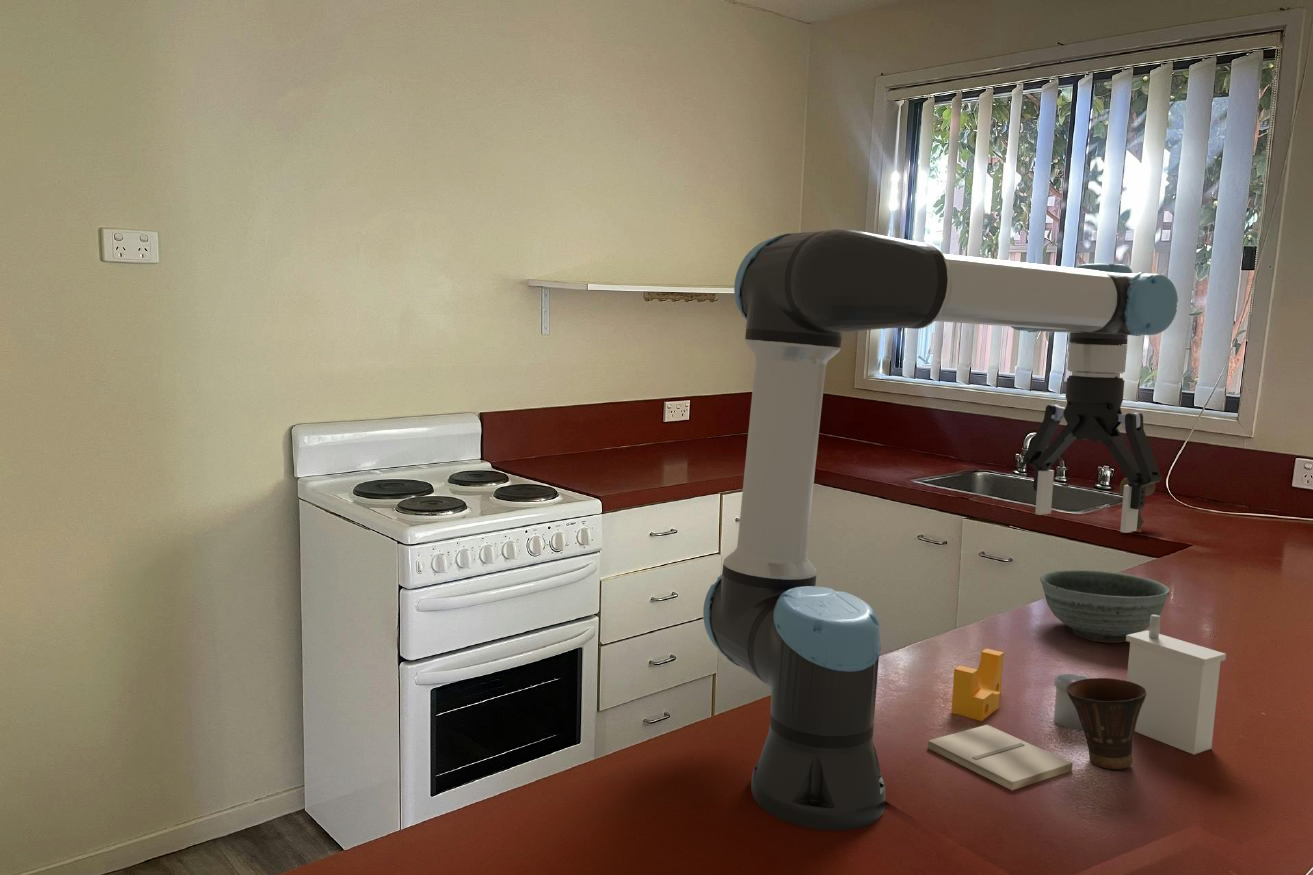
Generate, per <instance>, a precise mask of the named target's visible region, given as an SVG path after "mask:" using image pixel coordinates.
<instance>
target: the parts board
mask: <svg viewBox="0 0 1313 875" xmlns="http://www.w3.org/2000/svg"><path fill="white" fill-rule="evenodd" d="M927 749H929V750H931V751H933V752H934V753H936V754H938V755H941V756H942V757H944V758H946V759H949V760H950V761H952V762H954V763H957V764H958V765H960V766H963V767H965V768H967V769H969V770H970V771H972V772H974V773H976V774H978V775H980V776H982V777H985V778H986V779H989V780H990V781H992V782H994V783H997V784H999V785H1000V786H1002V787H1004V788H1006V789H1008V790H1010V791H1014V790H1018V789H1021V788H1024V787H1026V786H1030V785H1032V784H1036V783H1038V782H1039V783H1040V782H1042V781H1046V780H1048V779H1051V778H1054V777H1057V776H1059V775H1063V774H1067V773H1069V772H1072V770H1073V762H1071V761H1069V760H1067V759H1064V758H1062V757H1060V756H1058V755H1055V754H1054V753H1051V752H1049V751H1047V750H1045V749H1042V748H1040V747H1038V746H1036V745H1033V744H1031V743H1028V742H1027V741H1025V740H1023V739H1020V738H1019V737H1018V738H1017V737H1015V736H1013V735H1010V734H1009V733H1006V732H1005V731H1002V730H1000V729H997V728H996V727H993V726H991V725H989V724H984V725H981V726H977V727H974V728H973V727H972V728H970V729H966V730H962V731H958V732H955V733H951V734H948V735H943V736H940V737H937V738H933V739H932V738H931V739H930V740H928V741H927Z"/></svg>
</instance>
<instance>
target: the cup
mask: <svg viewBox="0 0 1313 875" xmlns="http://www.w3.org/2000/svg"><path fill="white" fill-rule="evenodd" d="M1090 678H1091V679H1083V680H1078V681H1075V682H1072V683H1070V684H1069V685H1068V686H1067V687H1066V690H1067V693H1068V695H1069V697H1070V699H1071V701H1072V703H1073V705H1074V706H1075V708H1076V711H1077V713H1078V716H1079V720H1080V723H1081V725H1082V729H1083V730H1082V731H1083V735H1084V738H1085V741H1086V746H1087V750H1088V758H1089V761H1090V763H1092V765H1094V766H1095V767H1099V768H1102V769H1103V768H1104V769H1108V770H1121V769H1122V770H1123V769H1127V768H1129V767H1130V766H1131V765H1132V764H1133V763H1134V762H1133V742H1134V736H1135V727H1136V723H1137V719H1138V716H1139V713H1140V709H1141V707H1142V704H1143V702H1144V700H1145V697H1146V690H1145V689H1144V688H1143V687H1142V686H1140V685H1138V684H1135V683H1133V682H1130V681H1127V680H1124V679H1119V678H1113V677H1111V678H1109V677H1097V678H1096V677H1090Z"/></svg>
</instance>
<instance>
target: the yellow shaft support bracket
mask: <svg viewBox="0 0 1313 875" xmlns="http://www.w3.org/2000/svg"><path fill="white" fill-rule="evenodd" d="M980 652H981V654H980V660H979V666H978V669H977V668H973V667H968V666H963V665H960V664H959V665H958V666H957V667H954V670H953V681H952V682H953V683H952V684H953V685H952V698H951V699H952V700H951V711H950V712H952V714H955V715H958V714H959V715H958V716H962V717H966V718H970V719H972V720H977V721H980V722H983V721H984V720H985V719H986V718H988V717H989V716H991V715H992V714H993V713H995V712H996V711H997V710H998V709H999V708H1000V698H1001V694H1002V683H1003V682H1002V681H1003V670H1004V666H1003V665H1004V657H1005V656H1004V654H1005V653H1004V652H1003V651H999V650H995V649H991V648H984V649H983V650H982V651H980Z"/></svg>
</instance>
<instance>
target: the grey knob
mask: <svg viewBox="0 0 1313 875" xmlns="http://www.w3.org/2000/svg"><path fill="white" fill-rule="evenodd" d="M1091 678H1092V677H1090V676H1087V675H1082V674H1078V673H1067V672H1065V673H1058V674H1055V676H1054V683H1053V685H1054V687H1055V688H1056V689H1055V699H1054V700H1055V701H1054V702H1055V703H1054V711H1053V712H1054V713H1053V714H1054V715H1053V721H1054V723H1055V724H1057V725H1059V726H1060V727H1062V728H1063V727H1064V728H1066V729H1070V730H1076V731H1083V729H1082V725H1081V723H1080V720H1079V716H1078V713H1077V711H1076V708H1075V706H1074V705H1073V703H1072V701H1071V699H1070V697H1069V695H1068V693H1067V690H1066V687H1067V686H1068V685H1069V684H1070V683H1072V682H1075V681H1078V680H1083V679H1091Z"/></svg>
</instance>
